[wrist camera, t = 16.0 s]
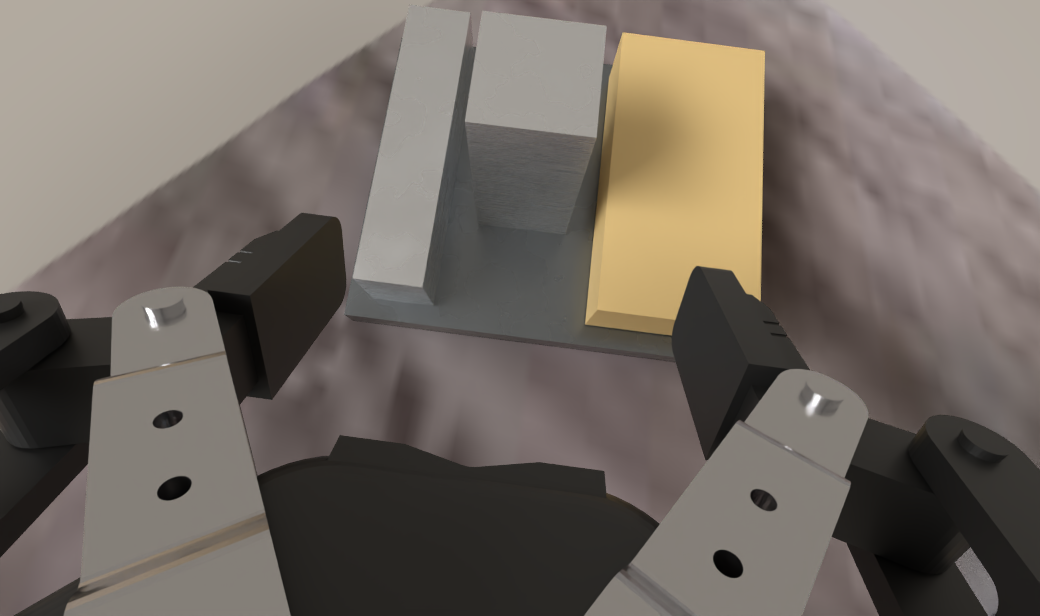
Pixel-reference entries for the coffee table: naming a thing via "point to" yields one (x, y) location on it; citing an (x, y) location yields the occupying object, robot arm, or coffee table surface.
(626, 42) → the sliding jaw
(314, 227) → the robot arm
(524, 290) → the vise base
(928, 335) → the coffee table surface
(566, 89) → the steel block
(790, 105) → the coffee table surface
